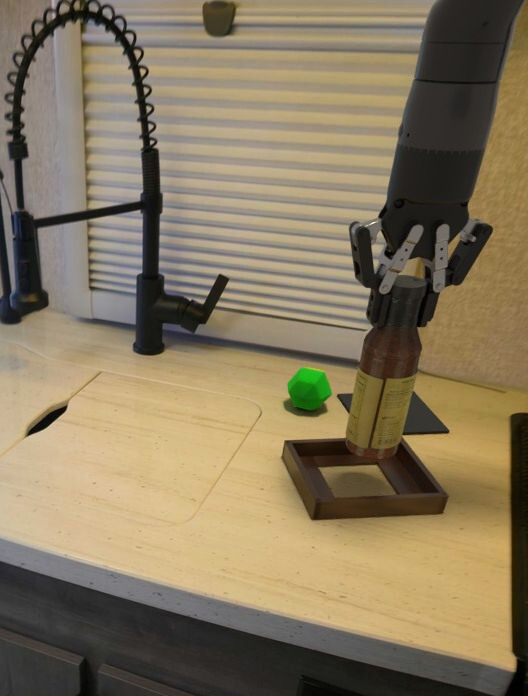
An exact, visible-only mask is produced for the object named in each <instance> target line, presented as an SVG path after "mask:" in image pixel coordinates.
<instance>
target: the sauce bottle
mask: <svg viewBox="0 0 528 696" xmlns="http://www.w3.org/2000/svg"><path fill="white" fill-rule="evenodd" d="M426 287H427V282H426V281H425V280H424V279H423V278H421V277H417V276H414V275H410V274H409V275H408V274H398V275H397V278H396V280H395V282H394V284H393V286H392V288H391V290H390V291H389V293H390V294H391V297H390V301H389V305H388V310H387V314H386V319H385V323H384V327H383V328H382V329H375V328H374V327H373V326H372V328H371V329H370V330H369V332H368V333H367V334H365V337H364V338H363V343H362V349H361V354H360V360H359V363H358V365H357V370H356V371H357V372H356V376H355V382H354V387H353V391H352V393H353V397H352V402H351V408H350V413H349V412H348V417H347V418H348V419H347V424H346V429H345V438H346V446H347V448H348V450H349V451H350V452H351V453H352V454H355V455H357V456H360V457H362V458H365V459H368V460H385V459H389V458H390V457H393V455H395V453H396V452H397V449H398V445H399V443H400V441H401V438H402V437H403V435H402V433H403V429H404V425H405V421H406V417H407V413H408V409H409V404H410V400H411V396H412V392H413V391H414V388H415V384H416V380H417V375H418V370H419V368H418V367H419V361H420V357H421V355H422V350H423V344H422V341H421V337H420V333H419V329H418V327H417V321H418V318H417V317H418V313H419V308H420V305H421V301H422V298H423V297H424V296H425V292H426Z"/></svg>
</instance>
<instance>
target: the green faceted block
mask: <svg viewBox="0 0 528 696" xmlns="http://www.w3.org/2000/svg"><path fill="white" fill-rule="evenodd" d="M286 384H287V385H286V386H287V392H288V395H289V398H290V400H291V402H292V405H293V407H295V408H299V409H303V410H307V411H314V410H318V409H319V408H320V407H321V406H322V405H323V404H324V403H325V402H326V401H327V400H328V399H329V398H330V397H332V395H333V391H332V386H331V384H330V381H329V378H328V375H327V374H326V371H325V370H323V369H318V368H314V367H310V366H306V367H304V366H303V367H300V368H299V369H298V370H297V372H296V373H295V374H294V375H293V376H292V377H291V378H290V380H288V381H287V383H286Z"/></svg>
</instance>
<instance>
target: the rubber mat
mask: <svg viewBox="0 0 528 696" xmlns="http://www.w3.org/2000/svg"><path fill="white" fill-rule="evenodd" d="M336 396H337V398H338V400H339V401H340V402H341V404H342V405H343V407H344V408H345V410H346V411H347V413H348V414H349V413H350V408H351V402H352V397H353V392H351V393H350V392H348V393H337V395H336ZM450 431H451V430H450V429H449V428H448V427H447V426H446V425H445V424H444V423H443V421H442V420H441V419H440V418H439V417H438V415H436V414H435V413H434V411H433V410H432V409H431V408H430V407H429V406H428V405H427V404H426V403H425V402H424V400H422V398H421V397H420V396H419V395H418V394H417V393H416V392H415V390H413V392H412V396H411V400H410V404H409V409H408V413H407V417H406V421H405V425H404V429H403V433H402V436H408V435H409V436H410V435H432V434H450Z"/></svg>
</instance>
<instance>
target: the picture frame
mask: <svg viewBox="0 0 528 696" xmlns="http://www.w3.org/2000/svg"><path fill="white" fill-rule="evenodd" d="M281 457H282V460H283V462H284V463H285V464H284V465H285V466H286V468H287V470H288V472H289V474H290V476H291V478H292V480H293V483H294V485H295V487H296V489H297V491H298V493H299V495H300V497H301V499H302V501H303V504H304V505H305V508H306V510H307V512H308V513H309V516H310V518H311V520H312V521H315V520H330V519H331V520H335V519H352V518H353V519H354V518H355V519H356V518H357V519H358V518H375V517H376V518H377V517H398V516H414V515H415V516H416V515H437V514H444V511H445V509H446V506H447V503H448V500H449V498H450V495H449V494H448V492H446V490H445V489H444V487H443V486H442V485H441V484H440V483H439V481H438V480H437V479H436V478H435V476H434V475H433V474H432V472H431V471H430V470H429V468H428V467H427V466H426V465H425V464H424V462H423V461H422V460H421V458H419V455H417V454H416V452H415V451H414V450H413V448H412V447H411V446H410V445H409V443H408V442H407V441H406V439H405V437H403V436H402V438H401V441H400V443H399V445H398V449H397V452H396V453H395V455H393V457H390V458H389V459H385V460H368V459H365V458H362V457H360V456H357V455H355V454H352V453H351V452H350V451H349V450H348V448H347V446H346V437H334V438H308V439H307V438H306V439H287V440H286V439H285V440H284V441H283V447H282V453H281ZM368 465H369V466H371V465H377V467H378V468H379V469H380V471H381V473H383V475H384V476H385V478H386V480H387V481H388V482H389V484H390V486H391V487H392V488H393V490H394V491H395V493H396V494H380V495H360V496H359V495H358V496H337V497H335V495H334V493H333V491H332V489H331V487H330V486H329V484H328V482H327V480H326V478H325V477H324V475H323V473H322V471H321V470H320V468H319V467H321V468H322V467H323V468H324V467H345V466H368Z"/></svg>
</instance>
